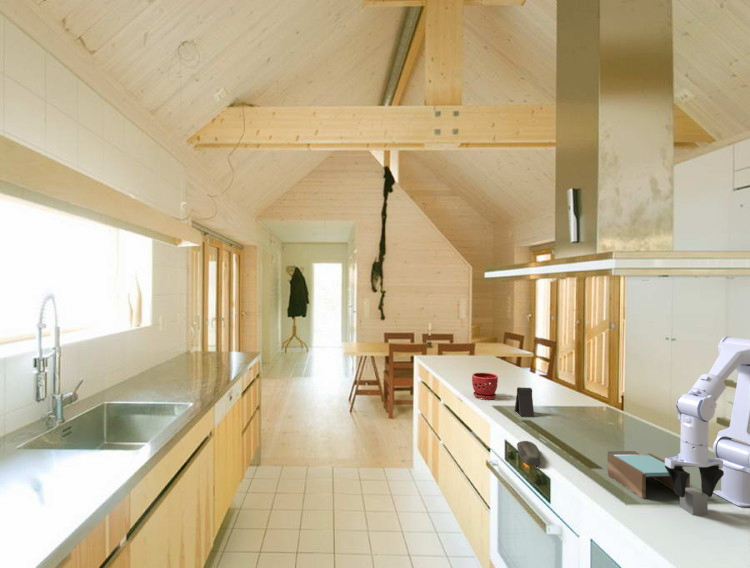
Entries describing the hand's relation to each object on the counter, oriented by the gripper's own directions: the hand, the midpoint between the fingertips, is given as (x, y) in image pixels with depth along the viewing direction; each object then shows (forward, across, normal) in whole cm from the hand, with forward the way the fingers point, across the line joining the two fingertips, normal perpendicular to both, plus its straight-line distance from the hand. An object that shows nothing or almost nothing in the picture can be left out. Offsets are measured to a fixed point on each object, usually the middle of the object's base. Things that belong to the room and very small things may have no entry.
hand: (693, 495), depth 105 cm
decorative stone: (+4, +27, -35) cm, 44 cm away
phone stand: (+4, +6, -83) cm, 83 cm away
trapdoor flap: (+1, +2, -16) cm, 16 cm away
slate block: (+4, 0, 0) cm, 4 cm away
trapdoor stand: (+4, +2, -14) cm, 14 cm away
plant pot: (+4, +14, -112) cm, 113 cm away
